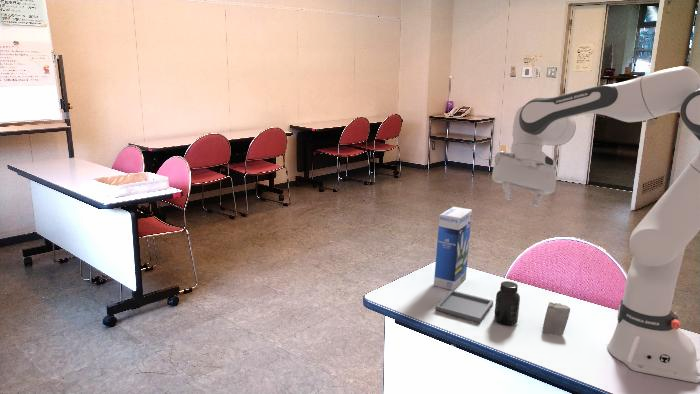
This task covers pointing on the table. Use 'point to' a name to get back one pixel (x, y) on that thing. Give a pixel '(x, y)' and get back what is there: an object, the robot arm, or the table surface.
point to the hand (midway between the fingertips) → (522, 202)
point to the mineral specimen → (556, 319)
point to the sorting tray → (464, 306)
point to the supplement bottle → (507, 304)
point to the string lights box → (452, 247)
